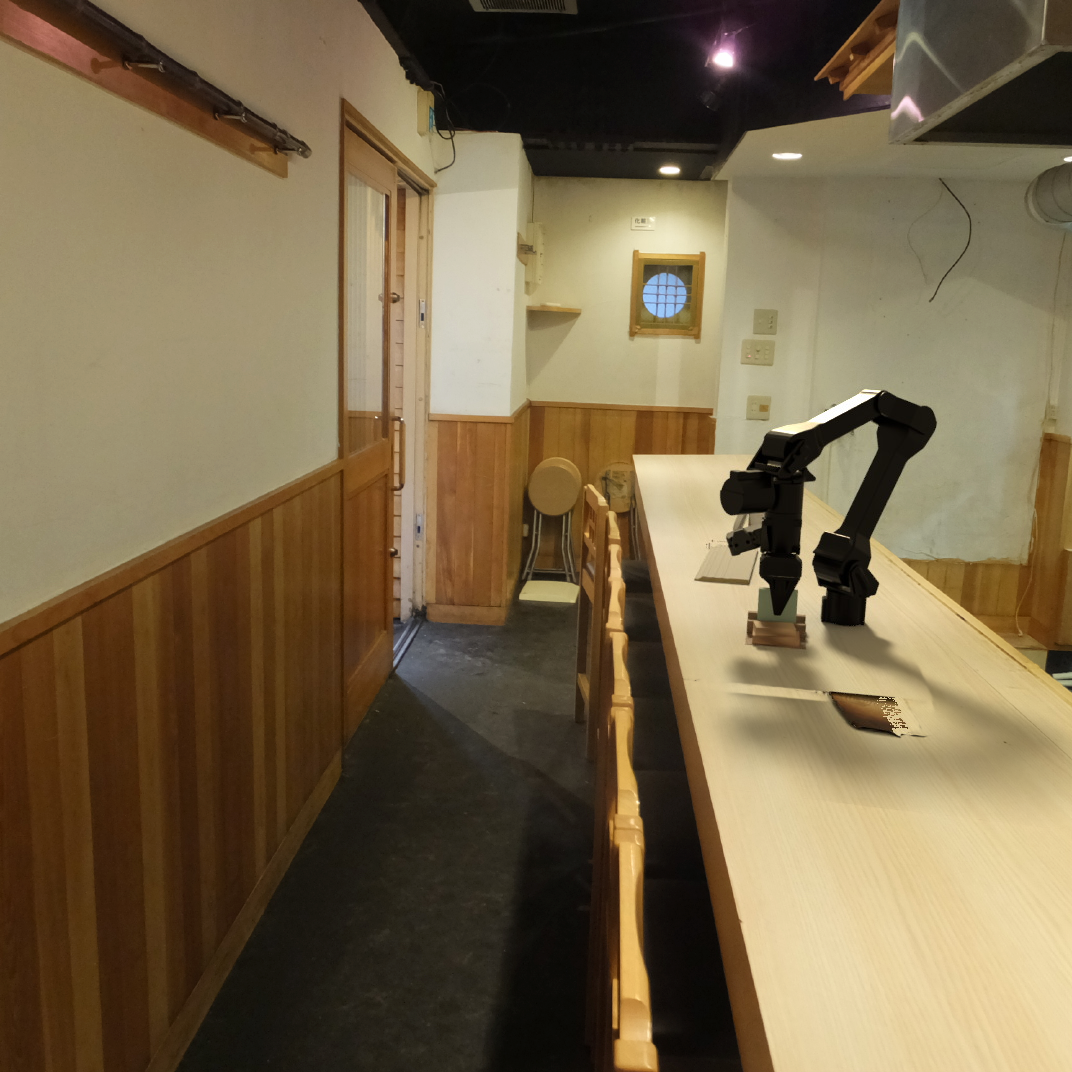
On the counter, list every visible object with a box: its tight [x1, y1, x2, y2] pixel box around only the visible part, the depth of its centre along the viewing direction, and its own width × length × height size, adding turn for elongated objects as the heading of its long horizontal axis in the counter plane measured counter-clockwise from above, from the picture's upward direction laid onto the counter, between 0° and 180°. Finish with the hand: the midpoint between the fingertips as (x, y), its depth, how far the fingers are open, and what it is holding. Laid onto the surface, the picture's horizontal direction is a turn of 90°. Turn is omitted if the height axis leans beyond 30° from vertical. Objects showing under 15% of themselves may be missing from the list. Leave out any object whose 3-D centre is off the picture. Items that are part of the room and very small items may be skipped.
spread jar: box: [732, 513, 764, 531], centre depth 230 cm, size 12×11×12 cm
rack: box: [744, 610, 807, 650], centre depth 148 cm, size 9×10×4 cm
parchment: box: [829, 690, 908, 733], centre depth 126 cm, size 25×10×1 cm, turn 171°
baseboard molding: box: [694, 539, 759, 585], centre depth 200 cm, size 31×3×12 cm
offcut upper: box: [753, 621, 796, 637], centre depth 146 cm, size 6×3×1 cm, turn 84°
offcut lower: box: [752, 630, 800, 647], centre depth 146 cm, size 7×4×1 cm, turn 76°
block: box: [757, 586, 799, 623], centre depth 150 cm, size 6×1×7 cm, turn 76°
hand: (777, 607), depth 150 cm, fingers open, 9 cm apart
